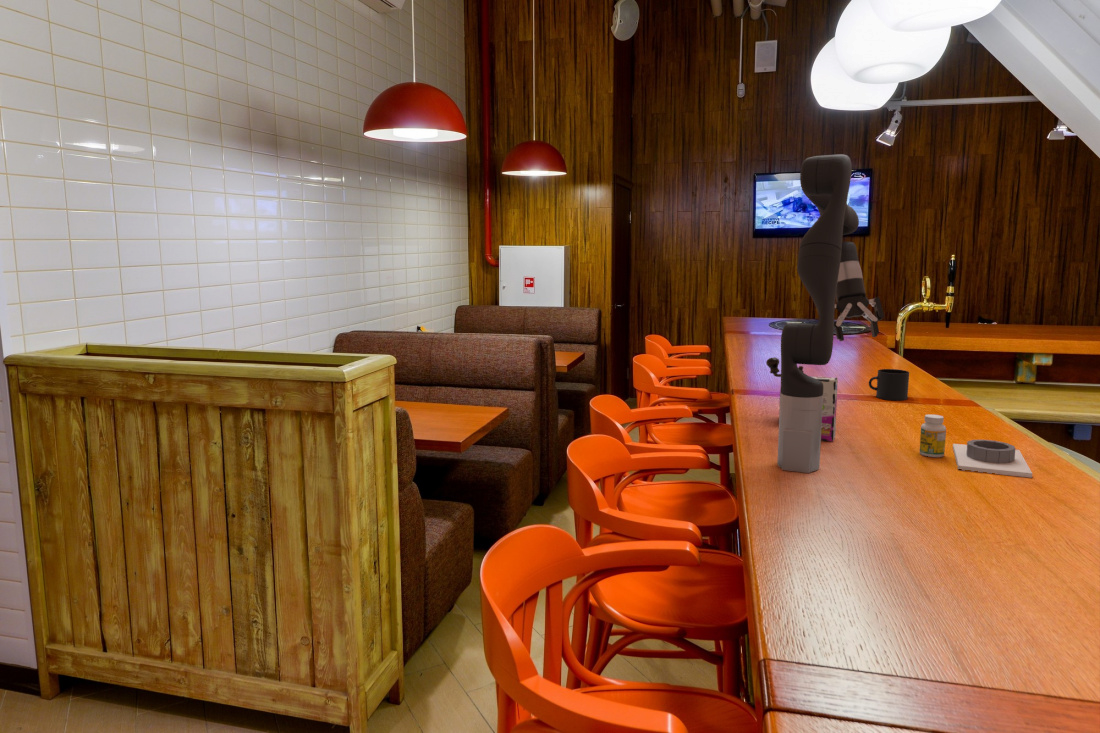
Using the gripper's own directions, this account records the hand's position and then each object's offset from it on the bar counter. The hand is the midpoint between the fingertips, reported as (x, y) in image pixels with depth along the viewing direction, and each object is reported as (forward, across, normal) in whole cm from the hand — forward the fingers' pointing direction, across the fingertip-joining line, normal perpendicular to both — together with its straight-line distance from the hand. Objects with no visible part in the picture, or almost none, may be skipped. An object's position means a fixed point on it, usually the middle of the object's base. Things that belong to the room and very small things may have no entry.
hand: (858, 338), depth 192 cm
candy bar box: (+25, -16, 0) cm, 30 cm away
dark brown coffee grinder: (+19, -18, +18) cm, 32 cm away
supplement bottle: (+33, +8, -12) cm, 36 cm away
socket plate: (+35, +19, -16) cm, 43 cm away
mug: (+13, +20, +53) cm, 58 cm away
